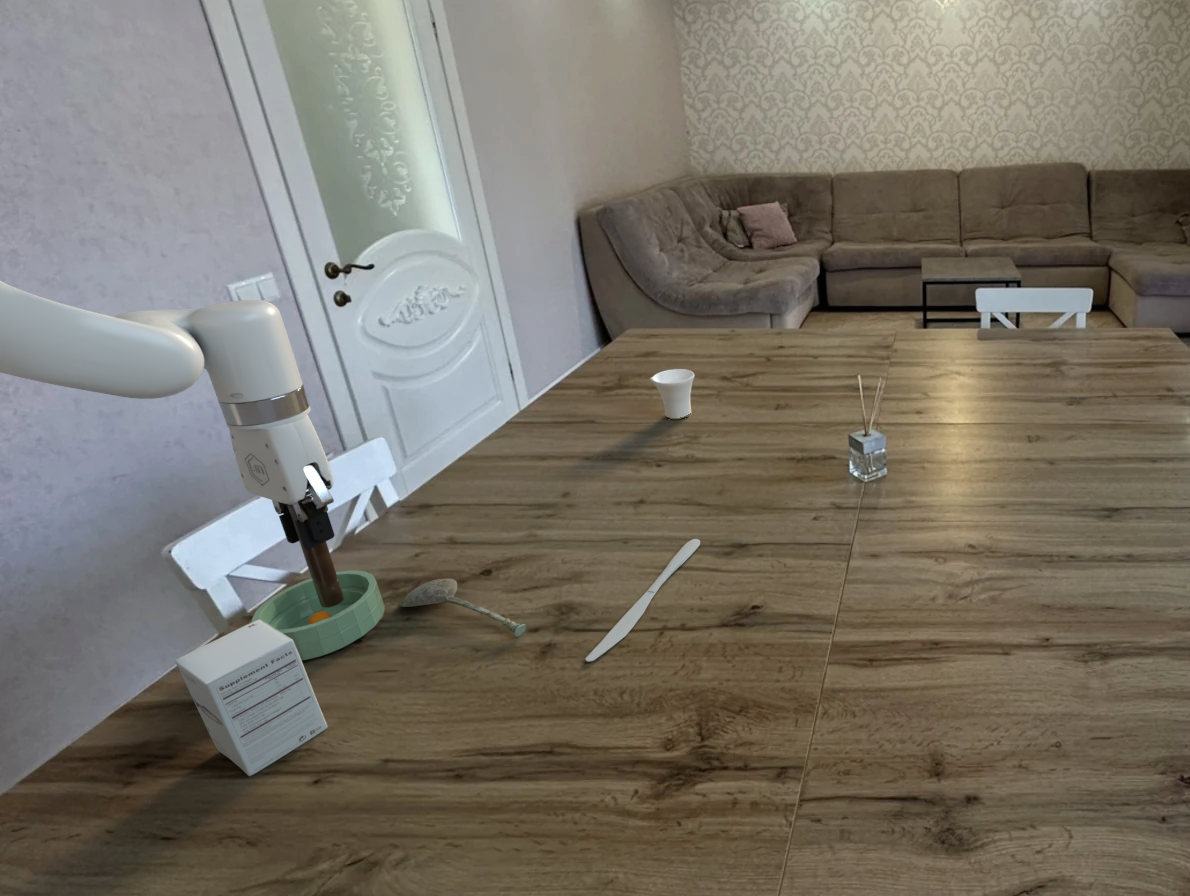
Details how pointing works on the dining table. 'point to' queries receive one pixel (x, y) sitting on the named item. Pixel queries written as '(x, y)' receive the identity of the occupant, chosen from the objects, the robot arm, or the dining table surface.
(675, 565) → the butter knife
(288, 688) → the white packaging box
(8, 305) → the robot arm
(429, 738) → the dining table surface
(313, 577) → the stirring stick
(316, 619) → the ball
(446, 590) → the soupspoon
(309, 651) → the bowl
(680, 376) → the cup
